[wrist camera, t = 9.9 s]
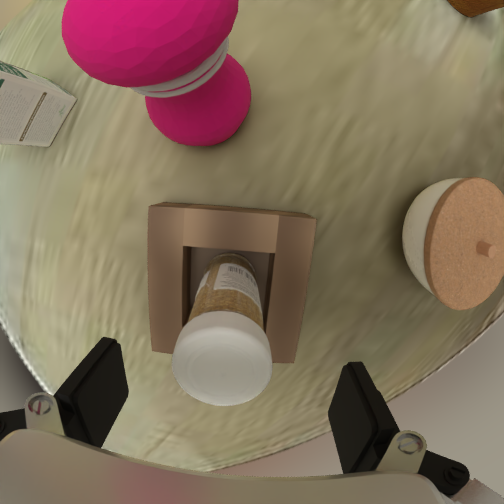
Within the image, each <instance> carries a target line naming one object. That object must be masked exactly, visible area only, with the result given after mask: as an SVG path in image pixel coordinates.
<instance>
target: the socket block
mask: <svg viewBox="0 0 504 504" xmlns="http://www.w3.org/2000/svg"><path fill="white" fill-rule="evenodd" d="M316 222H317V219H315V218H313V217H311V216H309V215H307V214H305V213H296V212H286V211H276V210H265V209H254V208H242V207H230V206H216V205H202V204H186V203H168V202H163V203H159V204H155V205H151V206H149V210H148V296H149V317H150V332H151V345H152V351H155V352H162V353H169V354H173V352H174V349H175V345H176V342H177V340H178V337H179V334H180V332H181V331H182V329H183V328H184V326H185V325H186V324H187V323H188V320H189V317H190V314H191V311H192V309H193V305H194V303H195V297H196V294H197V291H198V289H199V286H200V283H201V281H202V278H203V277H204V271H205V268H206V267H207V265H208V263H209V262H210V261H211V260H212V259H213V258H214V257H216V256H217V255H221V254H225V253H235V254H239V255H241V256H243V257H245V258H246V259H247V260H248V261H250V263H251V264H252V265H253V267H254V269H255V272H256V284H257V287H258V292H259V298H260V304H261V310H262V316H263V330H264V333H265V334H266V336H267V338H268V341H269V345H270V350H271V357H272V363H294V360H295V355H296V350H297V345H298V340H299V334H300V329H301V323H302V317H303V311H304V305H305V299H306V293H307V287H308V280H309V274H310V267H311V260H312V253H313V245H314V238H315V230H316Z"/></svg>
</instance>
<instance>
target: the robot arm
mask: <svg viewBox="0 0 504 504" xmlns="http://www.w3.org/2000/svg"><path fill="white" fill-rule="evenodd" d="M128 393H129V390H128V385H127V380H126V374H125V369H124V363H123V357H122V351H121V345H120V344H119V343H117V340H115V339H112V338H107V337H103V338H102V339H101V340H100V341H99V342H98V343H97V344H96V345H95V347H94V348H93V349H92V350H91V351H90V352H89V353H88V355H87V356H86V357H85V358H84V359H83V360H82V362H81V363H80V364H79V365H78V366H77V367H76V369H75V370H74V371H73V372H72V373H71V375H70V376H69V377H68V378H67V379H66V381H65V382H64V383H63V384H62V385H61V387H60V388H59V389H58V390H57V392H56V393H55V394H54V396H52V395H50V394H48V393H36V394H33V395H31V396H30V397H29V398H28V399H27V400H26V402H25V408H24V409H19V410H14V411H8V412H2V413H0V504H504V498H503V497H502V496H501V495H499V494H498V493H496V492H494V491H493V490H492V489H490V488H489V487H487V486H485V485H484V484H483V483H481V482H480V481H478V480H477V479H475V478H474V479H473V480H471V479H469V477H470V474H469V471H468V469H467V467H466V466H464V465H463V464H462V463H459V462H456V461H454V460H451V459H448V458H446V457H443V456H440V455H438V454H435V453H433V452H430V451H428V450H426V448H427V444H426V440H425V439H424V438H423V436H421V435H420V434H418V433H417V432H414V431H410V430H407V431H401V432H400V430H399V428H398V426H397V424H396V422H395V420H394V418H393V416H392V414H391V412H390V410H389V408H388V406H387V404H386V402H385V400H384V398H383V396H382V395H381V393H380V391H378V390H377V389H376V387H375V385H374V383H373V381H372V379H371V377H370V375H369V373H368V372H367V370H366V368H365V366H364V364H363V363H362V362H348V364H347V365H344V366H343V368H342V372H341V375H340V378H339V381H338V384H337V387H336V390H335V393H334V396H333V399H332V402H331V405H330V408H329V411H328V417H329V421H330V425H331V429H332V432H333V436H334V440H335V443H336V447H337V451H338V455H339V459H340V463H341V467H342V470H343V474H339V475H327V476H310V477H253V476H236V475H224V474H215V473H208V472H200V471H193V470H187V469H181V468H176V467H171V466H166V465H161V464H156V463H152V462H148V461H144V460H140V459H136V458H132V457H128V456H125V455H121V454H118V453H115V452H111V451H108V450H105V449H102V448H101V447H102V445H103V443H104V441H105V439H106V437H107V435H108V434H109V432H110V430H111V428H112V426H113V424H114V422H115V420H116V418H117V416H118V414H119V412H120V411H121V409H122V407H123V405H124V403H125V401H126V399H127V397H128Z"/></svg>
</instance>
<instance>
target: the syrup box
mask: <svg viewBox="0 0 504 504" xmlns="http://www.w3.org/2000/svg"><path fill="white" fill-rule="evenodd" d="M76 100H77V99H76V98H75V97H74V96H72V95H71V94H70V93H68V92H67V91H66V90H64V89H63V88H61V87H60V86H59V85H57V84H55V83H54V82H52V81H51V80H49V79H47V78H44V77H42V76H39V75H37V74H34V73H32V72H29V71H26V70H24V69H21V68H18V67H16V66H13V65H10V64H7V63H4V62H2V61H0V144H7V145H26V146H40V147H49V146H50V145H51V143H52V141H53V139H54V138H55V136H56V134H57V132H58V131H59V129H60V127H61V125H62V124H63V122H64V120H65V118H66V117H67V115H68V113H69V112H70V110H71V108H72V107H73V105H74V103H75V102H76Z"/></svg>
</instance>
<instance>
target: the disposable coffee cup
mask: <svg viewBox="0 0 504 504" xmlns="http://www.w3.org/2000/svg"><path fill="white" fill-rule="evenodd" d="M447 1H448V2H449V3H450V4H451V5H452V6H453V7H454V8H455V9H457V10H458V11H459V12H460V13H462V14H463V15H465V16H468V17H473V16H476V15H479V14H482V13H485V12H488V11H492V10H495V9H498V8H502V7H504V0H447Z"/></svg>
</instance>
